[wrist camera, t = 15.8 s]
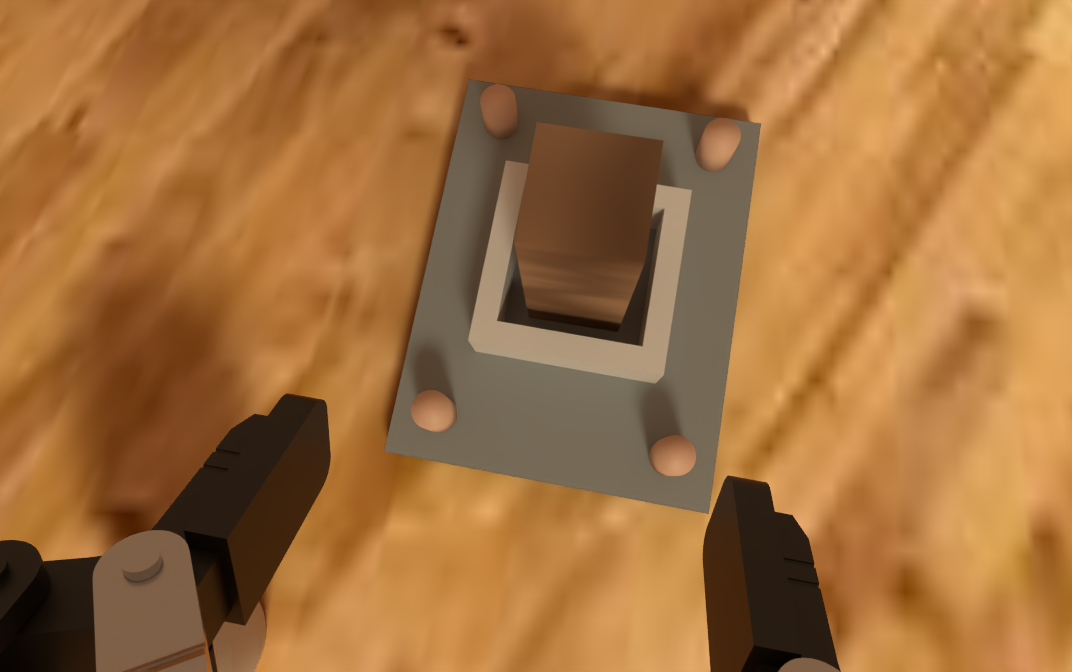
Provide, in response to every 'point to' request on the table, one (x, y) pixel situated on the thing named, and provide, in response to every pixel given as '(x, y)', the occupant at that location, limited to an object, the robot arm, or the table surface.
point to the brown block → (585, 223)
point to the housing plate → (570, 350)
